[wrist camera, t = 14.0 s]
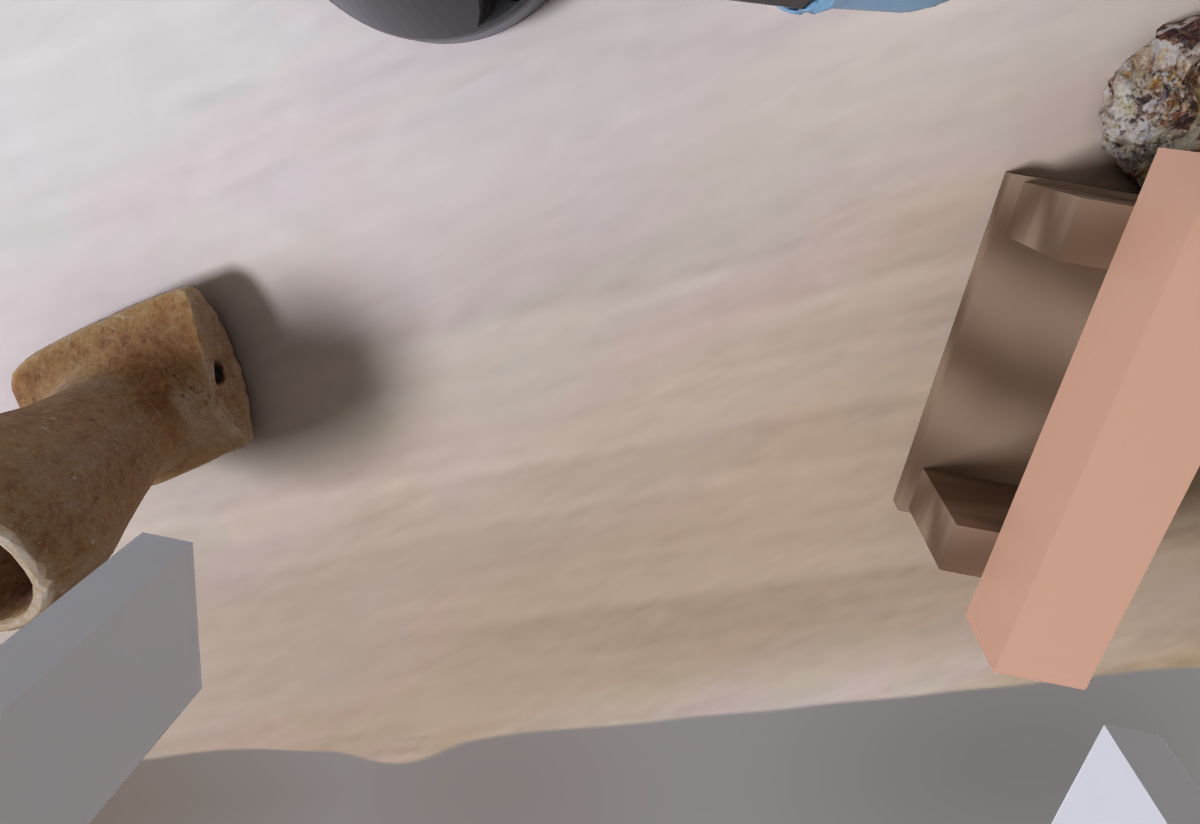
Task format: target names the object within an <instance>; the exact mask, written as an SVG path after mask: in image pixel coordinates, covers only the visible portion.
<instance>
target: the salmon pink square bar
mask: <svg viewBox="0 0 1200 824" xmlns="http://www.w3.org/2000/svg"><path fill="white" fill-rule="evenodd" d="M1199 466H1200V152H1192V151H1184V150H1176V149H1168V148H1160V147H1159V148H1158V150H1157V152H1156V155H1155V157H1154V160H1153V162H1152V164H1151V167H1150V169H1149V172H1148V174H1147V177H1146V179H1145V181H1144V184H1143V186H1142V189H1141V191H1140V194H1139V196H1138V198H1137V201H1136V203H1135V206H1134V208H1133V211H1132V213H1131V215H1130V218H1129V220H1128V223H1127V225H1126V228H1125V230H1124V232H1123V235H1122V237H1121V240H1120V242H1119V245H1118V247H1117V249H1116V252H1115V254H1114V257H1113V259H1112V261H1111V264H1110V266H1109V269H1108V271H1107V274H1106V276H1105V278H1104V281H1103V283H1102V286H1101V288H1100V291H1099V293H1098V295H1097V298H1096V300H1095V303H1094V305H1093V308H1092V310H1091V312H1090V315H1089V317H1088V320H1087V322H1086V325H1085V327H1084V329H1083V332H1082V334H1081V337H1080V339H1079V341H1078V344H1077V346H1076V349H1075V351H1074V354H1073V356H1072V358H1071V361H1070V363H1069V366H1068V368H1067V371H1066V373H1065V375H1064V378H1063V380H1062V383H1061V385H1060V388H1059V390H1058V392H1057V395H1056V397H1055V400H1054V402H1053V405H1052V407H1051V409H1050V412H1049V414H1048V417H1047V419H1046V421H1045V424H1044V426H1043V429H1042V431H1041V434H1040V436H1039V438H1038V441H1037V443H1036V446H1035V448H1034V451H1033V453H1032V455H1031V458H1030V460H1029V463H1028V465H1027V468H1026V470H1025V472H1024V475H1023V477H1022V480H1021V482H1020V485H1019V487H1018V489H1017V492H1016V494H1015V497H1014V499H1013V501H1012V504H1011V506H1010V509H1009V511H1008V514H1007V516H1006V518H1005V521H1004V523H1003V526H1002V528H1001V531H1000V533H999V535H998V538H997V540H996V543H995V545H994V548H993V550H992V552H991V555H990V557H989V560H988V562H987V565H986V567H985V569H984V572H983V574H982V577H981V579H980V581H979V584H978V586H977V589H976V591H975V594H974V596H973V598H972V601H971V603H970V606H969V608H968V611H967V613H966V615H965V616H966V618H967V620H968V622H969V624H970V626H971V628H972V630H973V632H974V634H975V636H976V638H977V640H978V642H979V644H980V646H981V648H982V650H983V652H984V654H985V656H986V658H987V660H988V662H989V664H990V666H991V668H992V670H993V672H997V673H1002V674H1007V675H1012V676H1017V677H1022V678H1027V679H1032V680H1037V681H1042V682H1047V683H1052V684H1058V685H1063V686H1068V687H1073V688H1078V689H1083V690H1086V687H1087V686H1088V684H1089V682H1090V680H1091V678H1092V676H1093V674H1094V672H1095V670H1096V668H1097V666H1098V664H1099V662H1100V660H1101V658H1102V656H1103V654H1104V652H1105V651H1106V649H1107V647H1108V645H1109V643H1110V641H1111V639H1112V637H1113V635H1114V633H1115V631H1116V629H1117V627H1118V625H1119V623H1120V621H1121V619H1122V617H1123V615H1124V613H1125V611H1126V609H1127V607H1128V605H1129V603H1130V602H1131V600H1132V598H1133V596H1134V594H1135V592H1136V590H1137V588H1138V586H1139V584H1140V582H1141V580H1142V578H1143V576H1144V574H1145V572H1146V570H1147V568H1148V566H1149V564H1150V562H1151V560H1152V558H1153V556H1154V554H1155V553H1156V551H1157V549H1158V547H1159V545H1160V543H1161V541H1162V539H1163V537H1164V535H1165V533H1166V531H1167V529H1168V527H1169V525H1170V523H1171V521H1172V519H1173V517H1174V515H1175V513H1176V511H1177V509H1178V507H1179V505H1180V504H1181V502H1182V500H1183V498H1184V496H1185V494H1186V492H1187V490H1188V488H1189V486H1190V484H1191V482H1192V480H1193V478H1194V476H1195V474H1196V472H1197V470H1198V468H1199Z"/></svg>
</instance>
